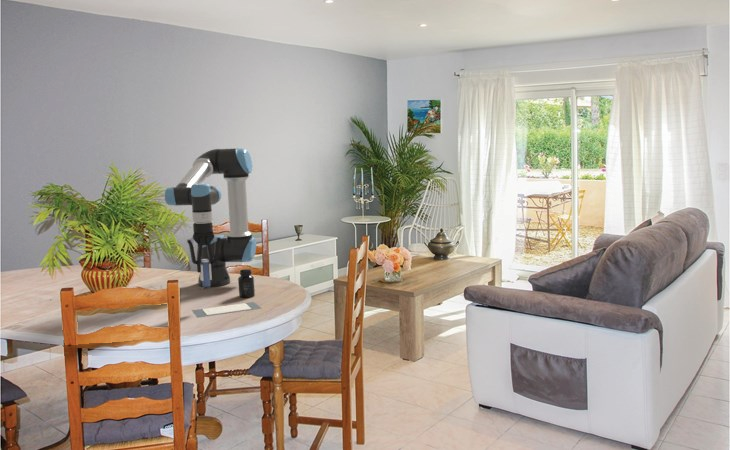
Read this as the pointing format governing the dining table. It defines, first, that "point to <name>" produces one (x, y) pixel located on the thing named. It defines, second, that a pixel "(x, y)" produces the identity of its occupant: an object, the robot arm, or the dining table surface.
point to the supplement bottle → (246, 284)
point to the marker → (206, 274)
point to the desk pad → (202, 314)
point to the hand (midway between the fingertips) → (206, 279)
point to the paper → (226, 309)
